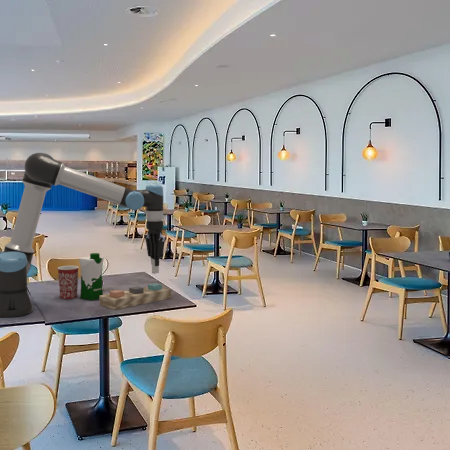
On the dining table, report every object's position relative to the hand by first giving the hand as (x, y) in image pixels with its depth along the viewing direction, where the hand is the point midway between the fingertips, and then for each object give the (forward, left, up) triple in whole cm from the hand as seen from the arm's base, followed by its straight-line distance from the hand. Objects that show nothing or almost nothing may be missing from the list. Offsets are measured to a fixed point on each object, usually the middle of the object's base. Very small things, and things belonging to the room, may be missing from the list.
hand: (155, 273), depth 246 cm
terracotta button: (-19, +7, -8) cm, 22 cm away
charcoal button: (-10, +4, -8) cm, 13 cm away
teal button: (0, 0, -8) cm, 8 cm away
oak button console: (-10, +4, -11) cm, 15 cm away
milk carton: (-14, +25, -11) cm, 30 cm away
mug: (-16, +35, -11) cm, 40 cm away
